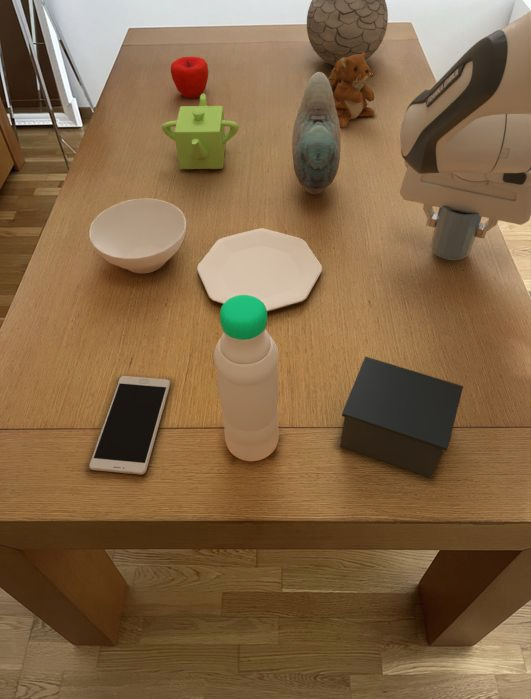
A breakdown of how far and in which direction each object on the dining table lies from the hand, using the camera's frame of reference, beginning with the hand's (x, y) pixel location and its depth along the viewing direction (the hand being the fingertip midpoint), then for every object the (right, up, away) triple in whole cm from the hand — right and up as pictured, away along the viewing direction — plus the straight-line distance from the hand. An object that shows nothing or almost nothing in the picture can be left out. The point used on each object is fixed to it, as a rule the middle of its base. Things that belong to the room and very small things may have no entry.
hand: (455, 230), depth 94 cm
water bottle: (-33, -32, -19) cm, 50 cm away
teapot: (-45, +20, +25) cm, 55 cm away
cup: (0, -2, +3) cm, 4 cm away
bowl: (-53, -4, +5) cm, 53 cm away
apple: (-50, +42, +44) cm, 78 cm away
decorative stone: (-22, +12, +18) cm, 31 cm away
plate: (-33, -7, +2) cm, 34 cm away
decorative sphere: (-11, +54, +53) cm, 77 cm away
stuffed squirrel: (-14, +35, +37) cm, 53 cm away
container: (-15, -31, -19) cm, 39 cm away
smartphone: (-50, -30, -17) cm, 61 cm away
